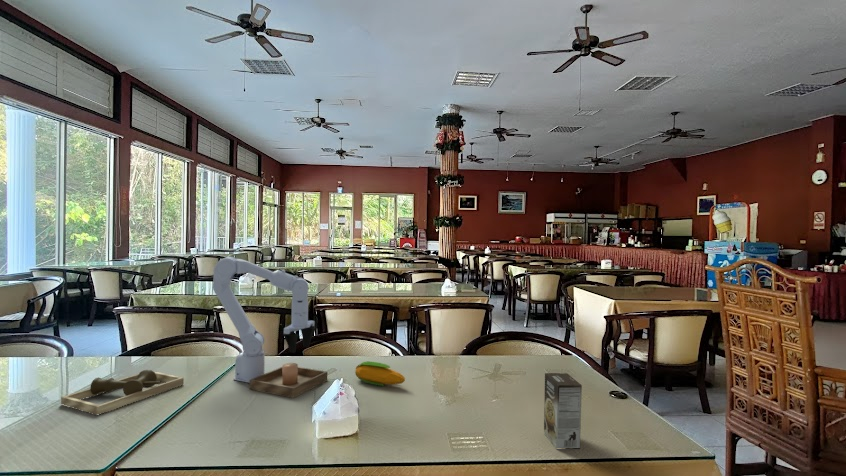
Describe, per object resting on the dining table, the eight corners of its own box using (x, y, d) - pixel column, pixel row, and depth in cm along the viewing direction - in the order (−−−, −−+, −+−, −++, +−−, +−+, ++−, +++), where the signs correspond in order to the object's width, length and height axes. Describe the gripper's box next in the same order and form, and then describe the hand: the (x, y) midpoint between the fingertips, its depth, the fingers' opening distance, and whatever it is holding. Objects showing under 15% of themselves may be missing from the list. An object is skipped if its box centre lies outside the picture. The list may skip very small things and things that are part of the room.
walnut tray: (249, 389, 146) (249, 379, 146) (286, 373, 162) (286, 364, 162) (293, 397, 139) (293, 388, 139) (327, 380, 155) (327, 371, 155)
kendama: (104, 389, 143) (168, 386, 145) (84, 401, 134) (154, 398, 136) (103, 371, 143) (168, 368, 145) (83, 382, 133) (153, 378, 135)
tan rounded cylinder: (279, 383, 149) (279, 366, 149) (289, 379, 154) (289, 362, 154) (290, 386, 147) (290, 368, 147) (300, 381, 152) (300, 364, 152)
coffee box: (542, 433, 117) (543, 372, 117) (566, 432, 118) (567, 372, 118) (555, 450, 108) (557, 384, 108) (581, 449, 109) (582, 384, 108)
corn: (362, 355, 160) (410, 363, 151) (363, 375, 161) (411, 385, 151) (350, 362, 153) (399, 371, 144) (350, 383, 154) (400, 394, 145)
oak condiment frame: (61, 405, 130) (61, 396, 130) (149, 377, 155) (149, 370, 155) (97, 415, 124) (97, 406, 124) (183, 384, 148) (183, 377, 148)
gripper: (295, 316, 151) (295, 356, 151) (321, 309, 164) (321, 346, 164) (279, 314, 154) (278, 353, 154) (305, 308, 167) (305, 344, 167)
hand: (299, 349), depth 159 cm, fingers open, 7 cm apart
